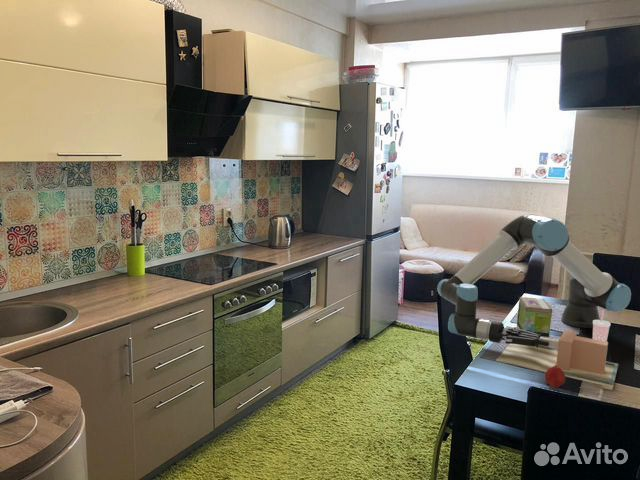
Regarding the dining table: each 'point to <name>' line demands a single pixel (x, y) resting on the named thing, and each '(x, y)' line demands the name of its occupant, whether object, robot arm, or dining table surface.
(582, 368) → the tee
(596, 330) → the beverage cup
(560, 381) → the red pomegranate
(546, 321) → the tea box
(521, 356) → the board
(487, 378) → the dining table surface
